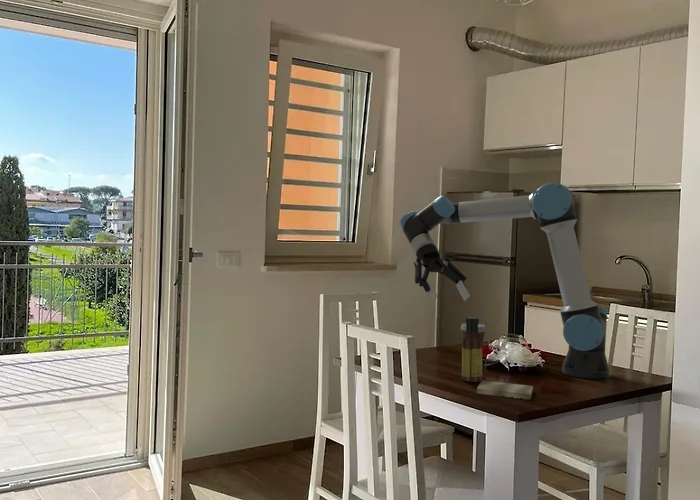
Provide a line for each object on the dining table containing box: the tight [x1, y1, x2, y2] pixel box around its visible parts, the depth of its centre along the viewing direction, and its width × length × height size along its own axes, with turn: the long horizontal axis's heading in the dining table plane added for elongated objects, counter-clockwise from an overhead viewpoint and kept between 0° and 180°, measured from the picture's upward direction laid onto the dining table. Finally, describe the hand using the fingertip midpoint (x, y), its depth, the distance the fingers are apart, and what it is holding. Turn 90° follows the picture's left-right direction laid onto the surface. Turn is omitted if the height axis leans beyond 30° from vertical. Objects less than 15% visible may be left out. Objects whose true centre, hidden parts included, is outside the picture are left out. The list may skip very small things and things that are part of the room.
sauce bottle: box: [461, 316, 483, 383], centre depth 208 cm, size 7×6×20 cm
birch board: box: [476, 380, 534, 400], centre depth 195 cm, size 15×11×2 cm
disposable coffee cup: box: [459, 322, 487, 347], centre depth 249 cm, size 10×10×12 cm
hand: (451, 298), depth 217 cm, fingers open, 13 cm apart
